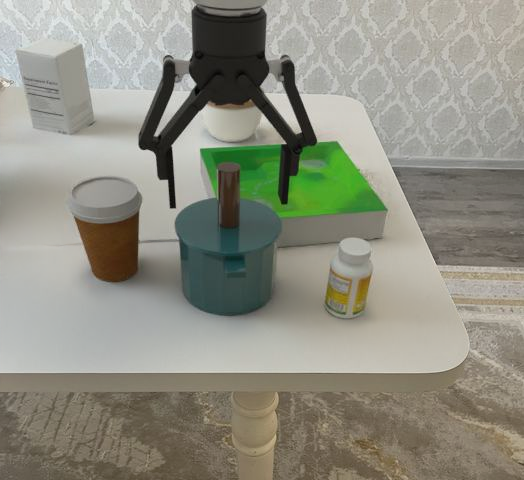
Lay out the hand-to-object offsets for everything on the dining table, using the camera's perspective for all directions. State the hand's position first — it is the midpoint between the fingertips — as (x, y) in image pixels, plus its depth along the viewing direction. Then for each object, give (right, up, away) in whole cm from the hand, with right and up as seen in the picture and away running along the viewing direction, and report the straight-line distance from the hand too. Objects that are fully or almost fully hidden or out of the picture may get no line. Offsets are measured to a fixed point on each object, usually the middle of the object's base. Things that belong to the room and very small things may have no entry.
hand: (228, 201), depth 73 cm
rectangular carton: (-36, +27, +46) cm, 64 cm away
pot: (-1, -10, +9) cm, 13 cm away
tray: (+8, +6, +26) cm, 28 cm away
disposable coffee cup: (-17, -7, +11) cm, 21 cm away
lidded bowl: (-2, +24, +46) cm, 52 cm away
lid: (0, -3, +2) cm, 4 cm away
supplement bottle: (+15, -13, +7) cm, 21 cm away
